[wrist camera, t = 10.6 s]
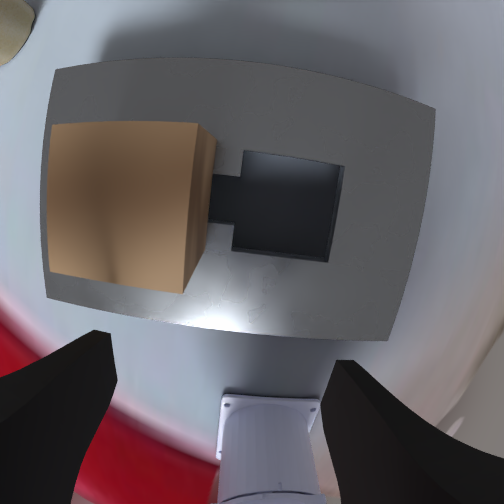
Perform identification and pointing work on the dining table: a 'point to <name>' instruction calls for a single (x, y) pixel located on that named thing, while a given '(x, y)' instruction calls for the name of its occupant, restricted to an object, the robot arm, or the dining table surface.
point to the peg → (129, 201)
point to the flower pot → (14, 27)
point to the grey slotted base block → (230, 163)
